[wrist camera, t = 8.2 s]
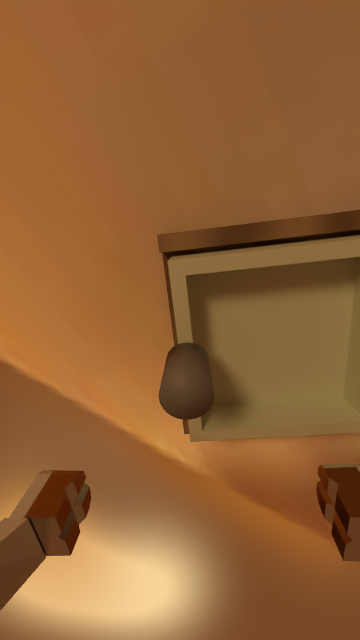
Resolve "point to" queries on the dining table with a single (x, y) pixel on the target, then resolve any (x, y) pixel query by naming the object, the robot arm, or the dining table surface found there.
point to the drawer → (266, 340)
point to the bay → (253, 241)
